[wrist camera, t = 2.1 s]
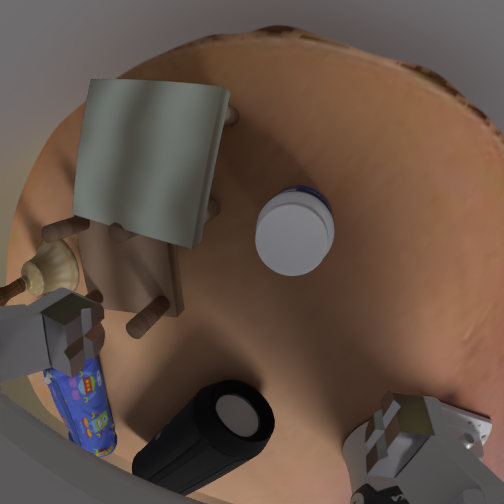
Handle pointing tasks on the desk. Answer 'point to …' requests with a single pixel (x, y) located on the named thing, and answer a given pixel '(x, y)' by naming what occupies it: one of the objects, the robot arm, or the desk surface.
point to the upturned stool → (125, 270)
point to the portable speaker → (207, 438)
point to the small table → (151, 156)
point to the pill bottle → (295, 230)
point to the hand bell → (45, 272)
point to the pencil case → (84, 407)
